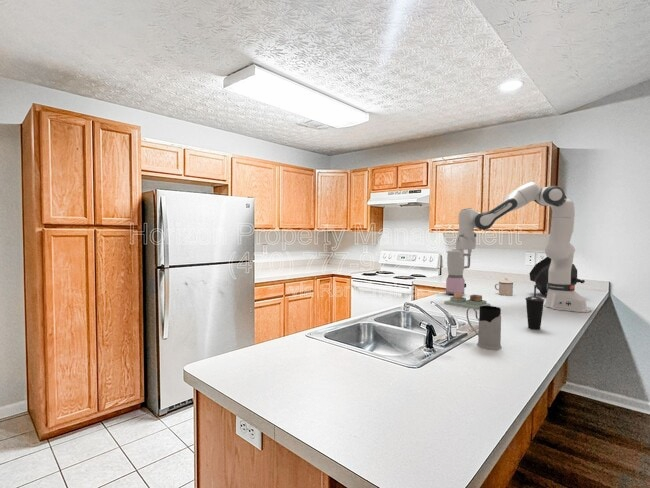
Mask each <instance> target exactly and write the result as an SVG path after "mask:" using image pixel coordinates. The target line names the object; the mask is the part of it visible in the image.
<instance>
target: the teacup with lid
mask: <svg viewBox="0 0 650 488" xmlns="http://www.w3.org/2000/svg"><path fill="white" fill-rule="evenodd" d="M497 286H498V288H497ZM513 286H514V282H513V281H512V280H510V279H508V277H506V278H505V277H504V279H502V280H499V281H498V283H495V285H494V289H495V290H496V291H498V294H499V295H500V296H504V297H505V296H506V297H508V296H509V297H511V296H513V293H514V289H513V288H514V287H513Z"/></svg>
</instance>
